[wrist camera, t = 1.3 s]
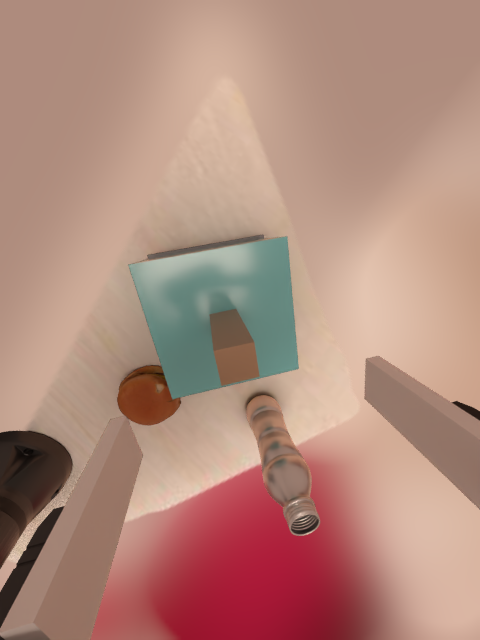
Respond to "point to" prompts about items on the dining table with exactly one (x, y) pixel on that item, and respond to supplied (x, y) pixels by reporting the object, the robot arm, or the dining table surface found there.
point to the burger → (146, 396)
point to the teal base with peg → (220, 314)
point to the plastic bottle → (283, 465)
